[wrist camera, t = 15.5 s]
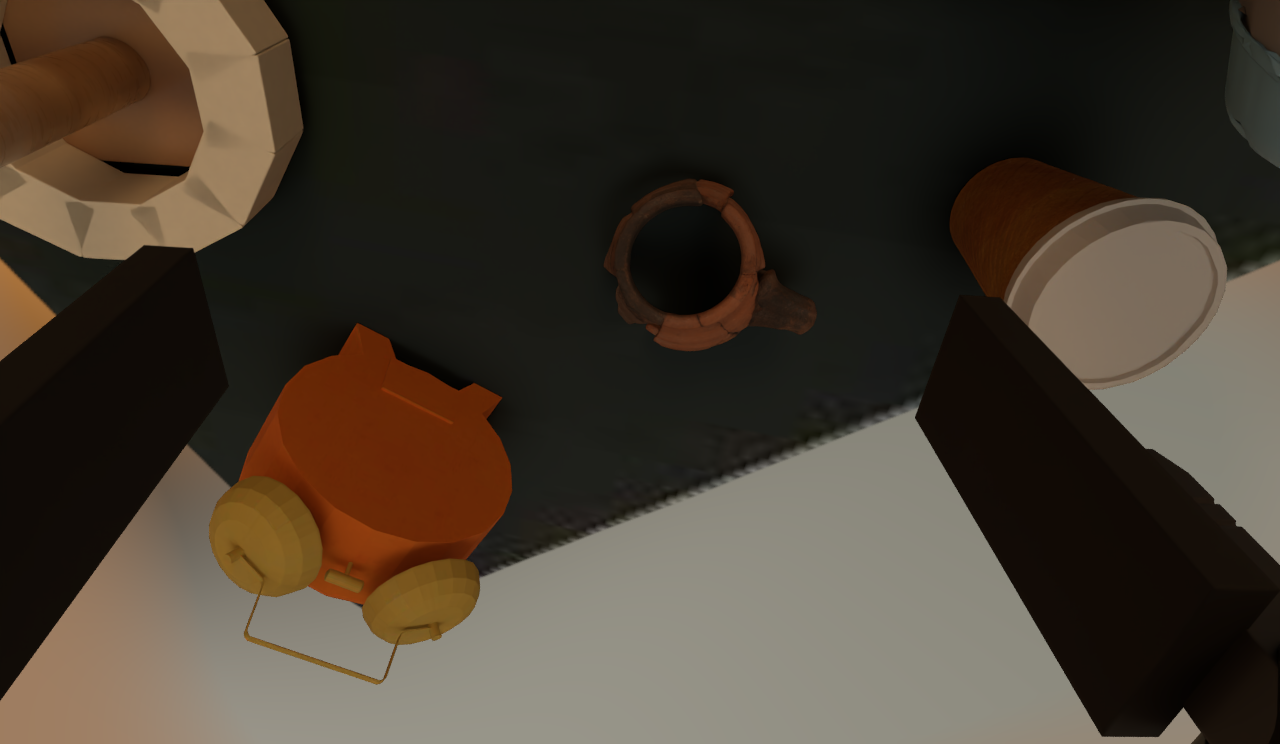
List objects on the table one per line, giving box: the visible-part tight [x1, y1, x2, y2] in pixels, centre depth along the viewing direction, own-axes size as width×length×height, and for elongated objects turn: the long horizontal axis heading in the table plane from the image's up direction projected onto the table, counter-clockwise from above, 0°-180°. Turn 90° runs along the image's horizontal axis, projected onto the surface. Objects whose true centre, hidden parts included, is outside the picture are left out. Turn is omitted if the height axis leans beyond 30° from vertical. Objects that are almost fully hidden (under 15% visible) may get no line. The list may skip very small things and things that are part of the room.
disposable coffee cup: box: [950, 157, 1227, 390], centre depth 38 cm, size 10×10×12 cm
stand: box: [0, 0, 204, 168], centre depth 31 cm, size 9×9×14 cm
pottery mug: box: [604, 179, 817, 351], centre depth 42 cm, size 12×10×8 cm
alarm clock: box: [209, 323, 512, 684], centre depth 40 cm, size 13×6×20 cm, turn 54°
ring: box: [0, 0, 303, 260], centre depth 34 cm, size 16×16×4 cm
